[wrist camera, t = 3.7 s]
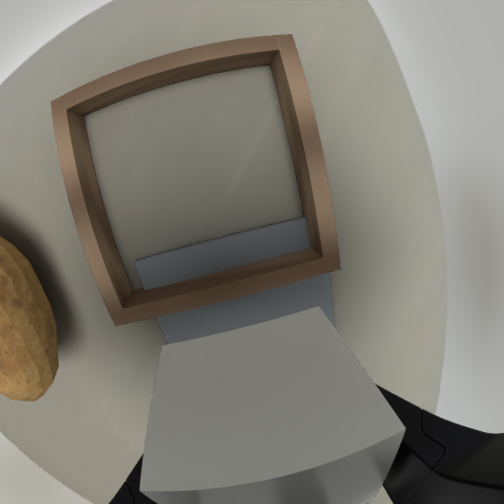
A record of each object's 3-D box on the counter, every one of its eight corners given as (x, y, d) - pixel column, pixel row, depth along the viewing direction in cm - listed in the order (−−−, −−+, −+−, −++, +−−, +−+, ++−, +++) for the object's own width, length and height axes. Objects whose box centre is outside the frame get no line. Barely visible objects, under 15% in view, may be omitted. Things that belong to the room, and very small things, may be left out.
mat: (335, 356, 21) (337, 359, 21) (193, 394, 20) (193, 397, 20) (318, 212, 18) (320, 213, 17) (135, 259, 17) (134, 262, 16)
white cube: (327, 404, 10) (374, 500, 5) (210, 433, 10) (219, 538, 5) (319, 306, 8) (405, 428, 4) (162, 345, 8) (139, 490, 3)
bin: (325, 256, 18) (340, 269, 16) (125, 307, 18) (115, 325, 15) (281, 50, 14) (292, 34, 12) (69, 108, 13) (51, 101, 11)
